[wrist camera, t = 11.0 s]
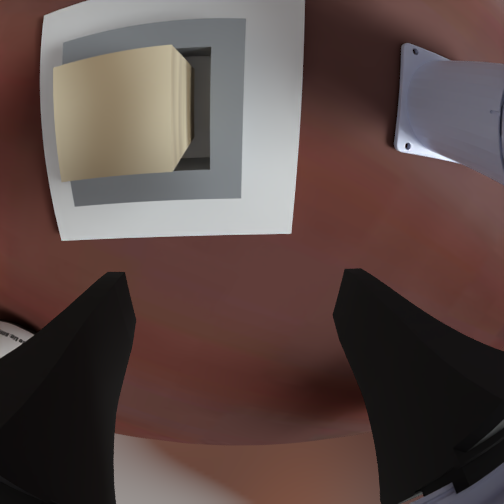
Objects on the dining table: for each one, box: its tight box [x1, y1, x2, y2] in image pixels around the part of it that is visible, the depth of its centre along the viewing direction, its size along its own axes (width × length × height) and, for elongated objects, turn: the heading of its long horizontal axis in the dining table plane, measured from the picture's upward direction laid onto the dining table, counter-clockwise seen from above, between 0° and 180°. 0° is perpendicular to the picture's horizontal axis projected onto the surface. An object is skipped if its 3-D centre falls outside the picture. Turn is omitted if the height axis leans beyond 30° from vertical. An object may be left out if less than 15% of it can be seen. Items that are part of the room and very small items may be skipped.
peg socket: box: [40, 0, 305, 241], centre depth 13 cm, size 16×16×4 cm
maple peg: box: [53, 45, 195, 182], centre depth 11 cm, size 4×4×8 cm
